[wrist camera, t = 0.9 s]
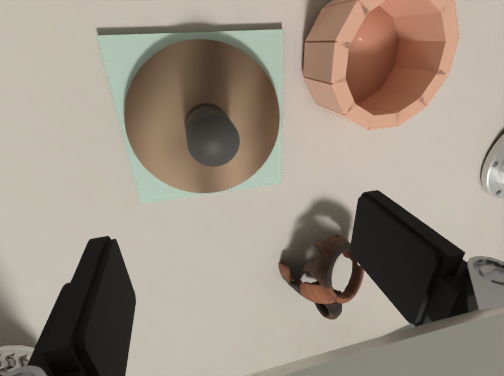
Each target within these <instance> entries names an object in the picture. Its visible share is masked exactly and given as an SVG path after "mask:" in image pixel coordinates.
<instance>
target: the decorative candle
mask: <svg viewBox="0 0 504 376" xmlns="http://www.w3.org/2000/svg"><path fill="white" fill-rule="evenodd" d="M34 349H35V348H34V347H29V346H24V345H5V346H1V347H0V376H3V375H4V374H6V373H8V372H10V371H12V370H14V369H17V368H19V367H24V366H27V364H28V362H29V360H30V357H31V355H32V353H33V351H34Z"/></svg>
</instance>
